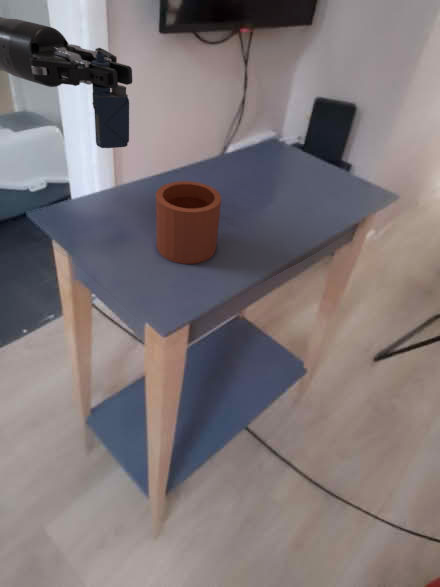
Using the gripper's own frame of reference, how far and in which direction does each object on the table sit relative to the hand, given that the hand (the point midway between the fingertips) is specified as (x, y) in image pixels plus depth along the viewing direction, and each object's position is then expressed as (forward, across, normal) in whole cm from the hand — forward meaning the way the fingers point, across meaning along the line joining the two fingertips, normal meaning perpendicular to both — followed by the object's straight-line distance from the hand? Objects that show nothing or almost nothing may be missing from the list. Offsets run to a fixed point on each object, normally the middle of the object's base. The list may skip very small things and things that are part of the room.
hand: (122, 77), depth 52 cm
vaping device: (-3, +1, +10) cm, 11 cm away
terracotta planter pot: (+8, +6, +27) cm, 28 cm away
